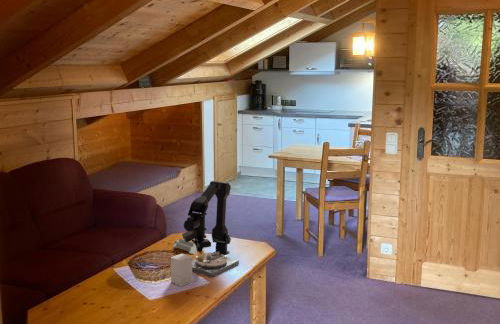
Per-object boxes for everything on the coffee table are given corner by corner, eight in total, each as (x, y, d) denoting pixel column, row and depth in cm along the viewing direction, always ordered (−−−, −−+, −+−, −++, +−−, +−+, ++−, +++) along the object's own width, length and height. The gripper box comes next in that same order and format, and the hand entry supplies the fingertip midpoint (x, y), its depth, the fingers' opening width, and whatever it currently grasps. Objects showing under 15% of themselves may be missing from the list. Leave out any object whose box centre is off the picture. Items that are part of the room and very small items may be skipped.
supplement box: (192, 282, 252) (192, 256, 250) (180, 286, 247) (180, 260, 245) (182, 277, 257) (182, 252, 255) (170, 282, 252) (170, 256, 250)
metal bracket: (171, 243, 290) (178, 235, 304) (169, 253, 291) (175, 244, 305) (196, 252, 289) (202, 243, 304) (193, 261, 290) (199, 252, 305)
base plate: (210, 256, 287) (210, 252, 287) (238, 263, 277) (238, 259, 276) (182, 268, 269) (182, 264, 269) (212, 277, 259) (212, 272, 258)
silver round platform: (214, 254, 283) (214, 241, 282) (233, 263, 271) (233, 249, 270) (189, 260, 273) (189, 247, 272) (207, 270, 261) (207, 256, 260)
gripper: (178, 221, 272) (178, 250, 275) (190, 233, 255) (189, 263, 259) (198, 219, 276) (198, 247, 280) (211, 230, 260) (211, 260, 263)
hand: (199, 254), depth 270 cm, fingers closed
